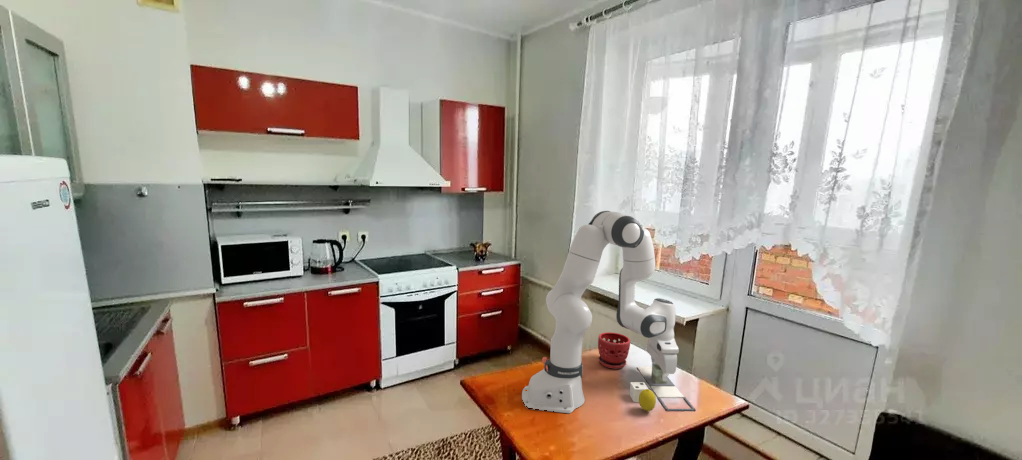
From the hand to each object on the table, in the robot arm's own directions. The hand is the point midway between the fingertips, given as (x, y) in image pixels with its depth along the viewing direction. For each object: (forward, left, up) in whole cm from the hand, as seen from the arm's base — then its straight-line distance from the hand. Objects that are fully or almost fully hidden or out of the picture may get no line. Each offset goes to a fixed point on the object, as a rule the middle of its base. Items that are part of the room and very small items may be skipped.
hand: (659, 373), depth 159 cm
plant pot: (-14, +15, -4) cm, 21 cm away
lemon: (-12, -20, -4) cm, 24 cm away
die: (-12, -12, -3) cm, 17 cm away
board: (0, -4, -3) cm, 5 cm away
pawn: (0, 0, -3) cm, 3 cm away
